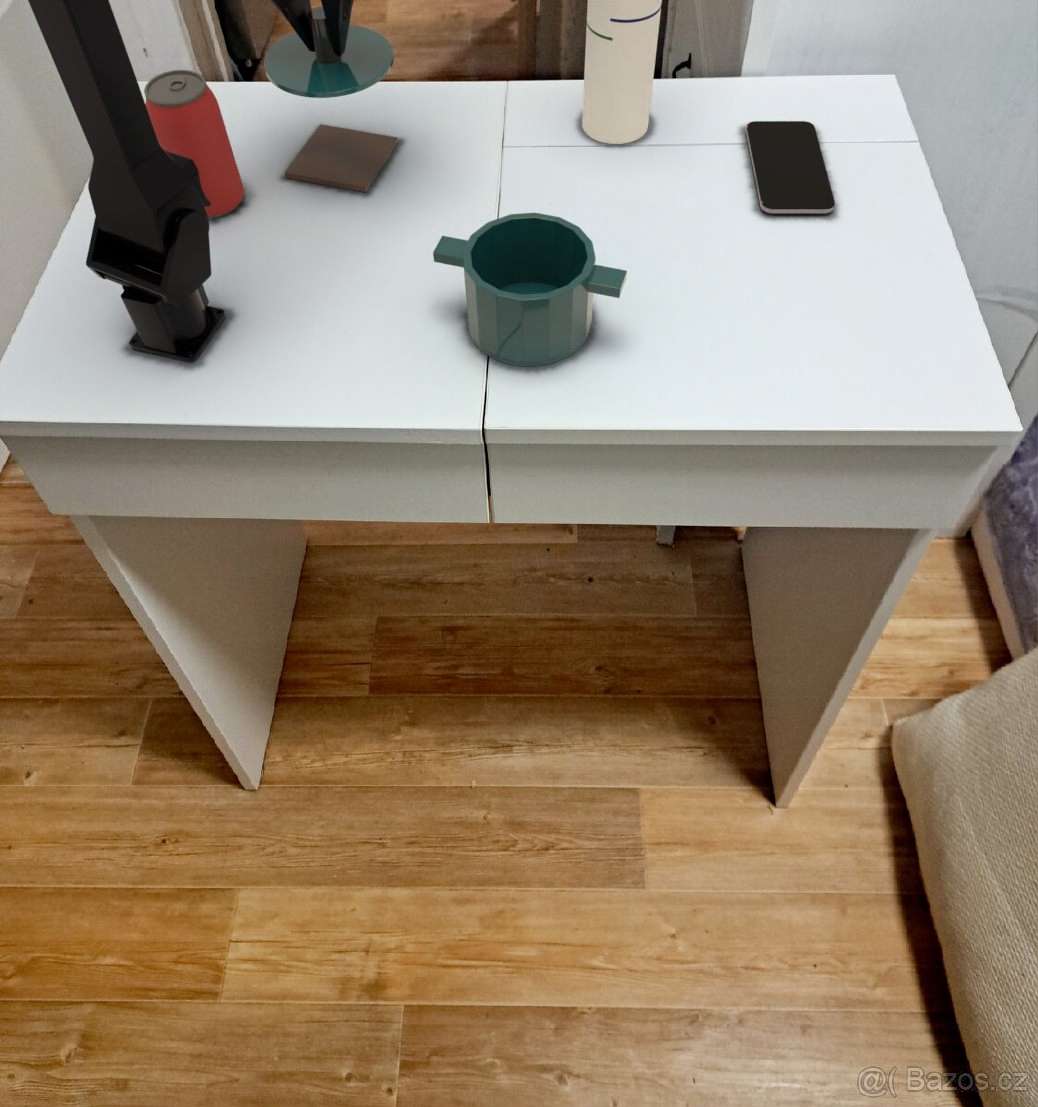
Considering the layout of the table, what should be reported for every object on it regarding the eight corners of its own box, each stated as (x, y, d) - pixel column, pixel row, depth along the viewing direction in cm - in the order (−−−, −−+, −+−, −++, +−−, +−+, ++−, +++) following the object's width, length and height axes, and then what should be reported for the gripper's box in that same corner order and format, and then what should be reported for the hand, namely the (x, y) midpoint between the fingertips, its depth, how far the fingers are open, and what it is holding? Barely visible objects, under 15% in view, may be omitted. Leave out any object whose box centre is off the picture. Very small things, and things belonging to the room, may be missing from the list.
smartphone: (813, 120, 98) (837, 208, 90) (812, 126, 99) (835, 214, 91) (745, 120, 99) (762, 208, 90) (743, 126, 99) (760, 214, 91)
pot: (602, 384, 79) (608, 317, 73) (423, 346, 82) (413, 278, 76) (632, 300, 85) (639, 231, 78) (463, 266, 88) (458, 198, 81)
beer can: (253, 182, 95) (220, 67, 85) (236, 222, 92) (199, 108, 82) (191, 179, 96) (151, 64, 86) (172, 219, 92) (127, 104, 82)
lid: (365, 113, 84) (356, 57, 80) (244, 93, 86) (229, 37, 82) (413, 44, 90) (407, -11, 86) (299, 27, 92) (288, -28, 88)
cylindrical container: (643, 147, 98) (673, -129, 77) (577, 140, 98) (588, -135, 77) (651, 109, 101) (682, -163, 80) (587, 102, 102) (601, -169, 81)
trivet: (366, 192, 94) (365, 187, 94) (285, 177, 96) (284, 172, 95) (398, 142, 99) (397, 137, 98) (321, 129, 100) (320, 124, 100)
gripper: (435, -172, 76) (450, 23, 89) (232, -194, 79) (275, -3, 93) (384, -115, 70) (408, 84, 83) (168, -142, 74) (223, 54, 87)
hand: (327, 51), depth 87 cm, fingers closed on lid, 2 cm apart
